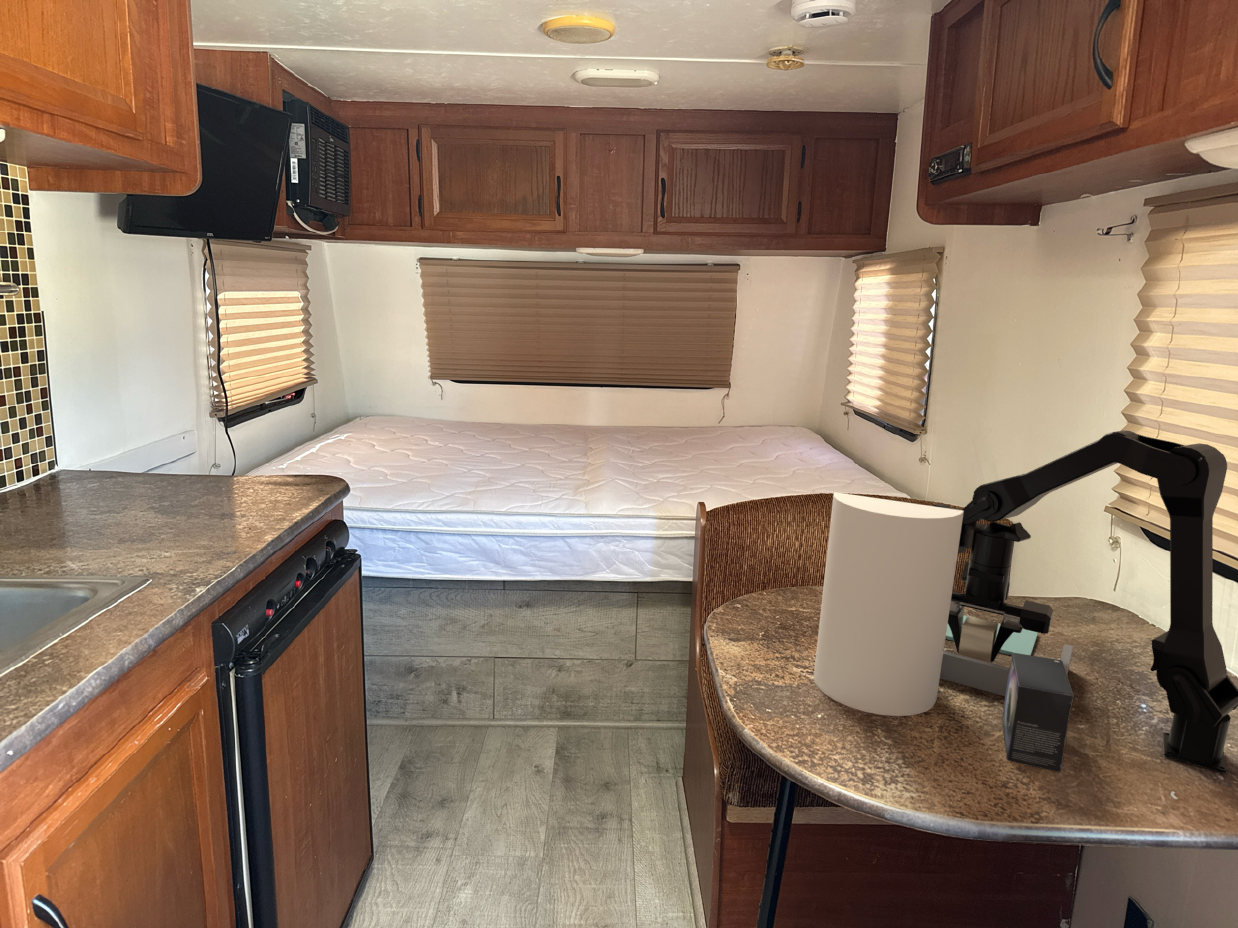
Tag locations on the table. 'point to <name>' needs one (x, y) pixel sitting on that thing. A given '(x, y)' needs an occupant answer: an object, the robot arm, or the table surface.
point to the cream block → (978, 638)
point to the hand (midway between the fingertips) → (975, 656)
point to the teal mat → (1010, 641)
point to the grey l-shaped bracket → (984, 671)
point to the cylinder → (886, 603)
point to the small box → (1036, 711)
